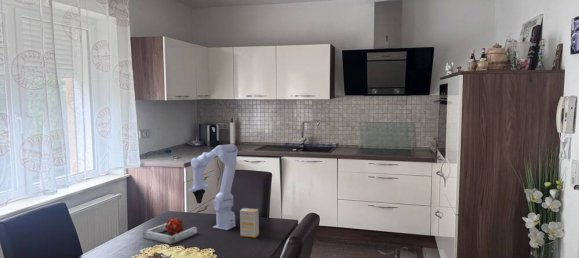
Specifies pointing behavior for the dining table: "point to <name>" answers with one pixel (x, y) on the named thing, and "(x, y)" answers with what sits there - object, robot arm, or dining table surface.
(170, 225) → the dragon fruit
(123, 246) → the dining table surface
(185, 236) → the grey u-shaped bracket
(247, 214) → the supplement box
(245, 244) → the dining table surface
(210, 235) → the dining table surface
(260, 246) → the dining table surface
